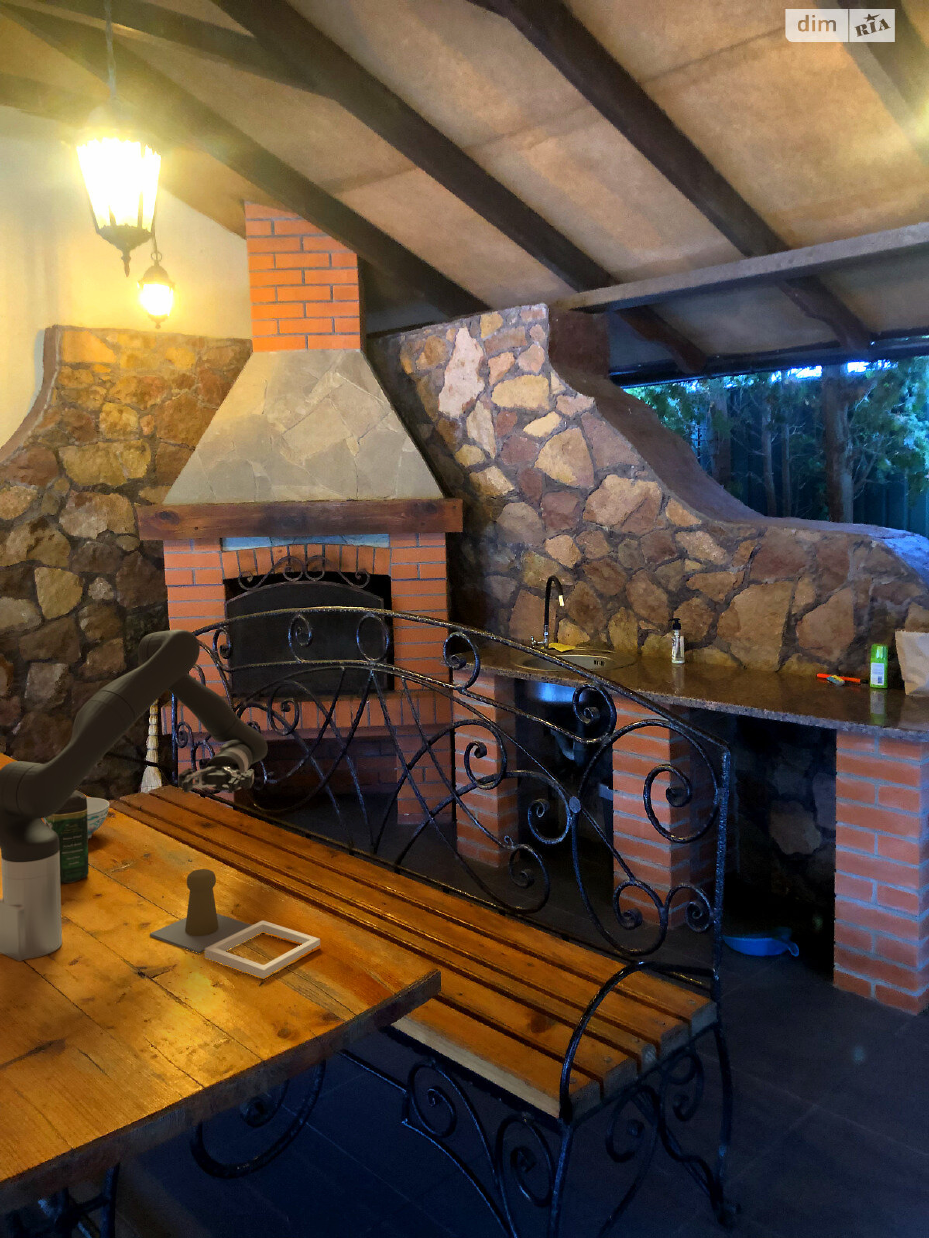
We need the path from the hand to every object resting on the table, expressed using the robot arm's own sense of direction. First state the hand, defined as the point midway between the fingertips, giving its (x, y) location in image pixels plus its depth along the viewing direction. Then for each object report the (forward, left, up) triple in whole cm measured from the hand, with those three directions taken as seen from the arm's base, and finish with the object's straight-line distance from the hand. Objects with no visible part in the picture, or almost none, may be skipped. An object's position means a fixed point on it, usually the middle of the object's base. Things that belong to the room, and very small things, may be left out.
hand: (208, 787), depth 178 cm
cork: (-8, -7, -24) cm, 26 cm away
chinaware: (+11, +58, -25) cm, 64 cm away
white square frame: (-8, -22, -24) cm, 34 cm away
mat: (-8, -7, -24) cm, 26 cm away
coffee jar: (-5, +38, -25) cm, 45 cm away
